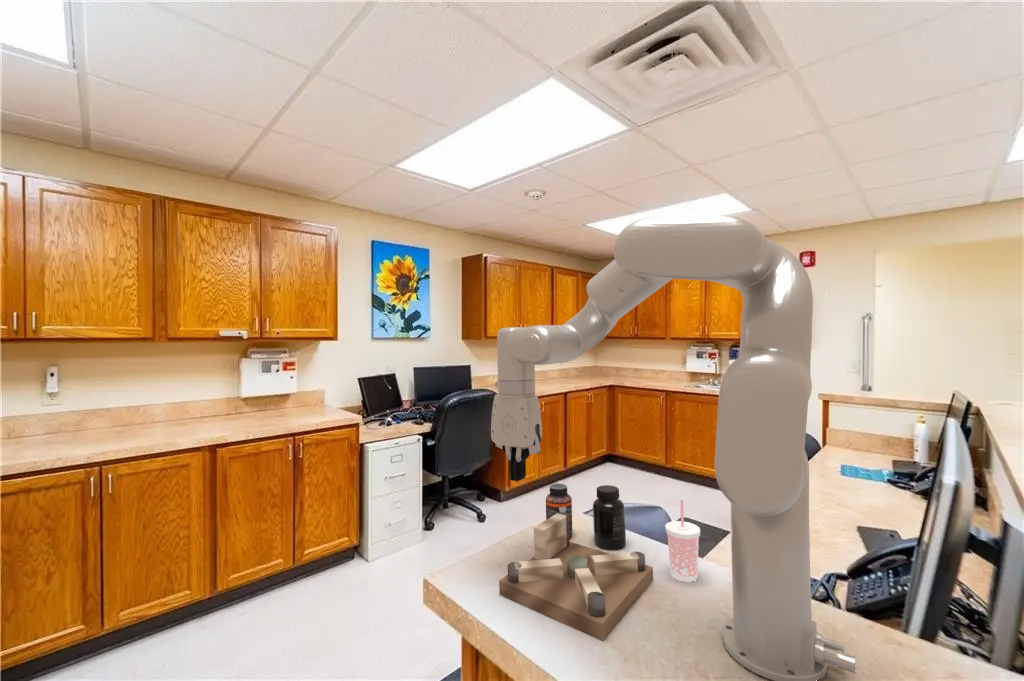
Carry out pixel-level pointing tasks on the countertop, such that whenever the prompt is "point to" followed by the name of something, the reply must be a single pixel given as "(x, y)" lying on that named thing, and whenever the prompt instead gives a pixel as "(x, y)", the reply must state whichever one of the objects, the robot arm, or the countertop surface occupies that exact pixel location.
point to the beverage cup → (683, 548)
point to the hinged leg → (551, 536)
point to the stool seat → (580, 586)
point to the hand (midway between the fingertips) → (517, 479)
